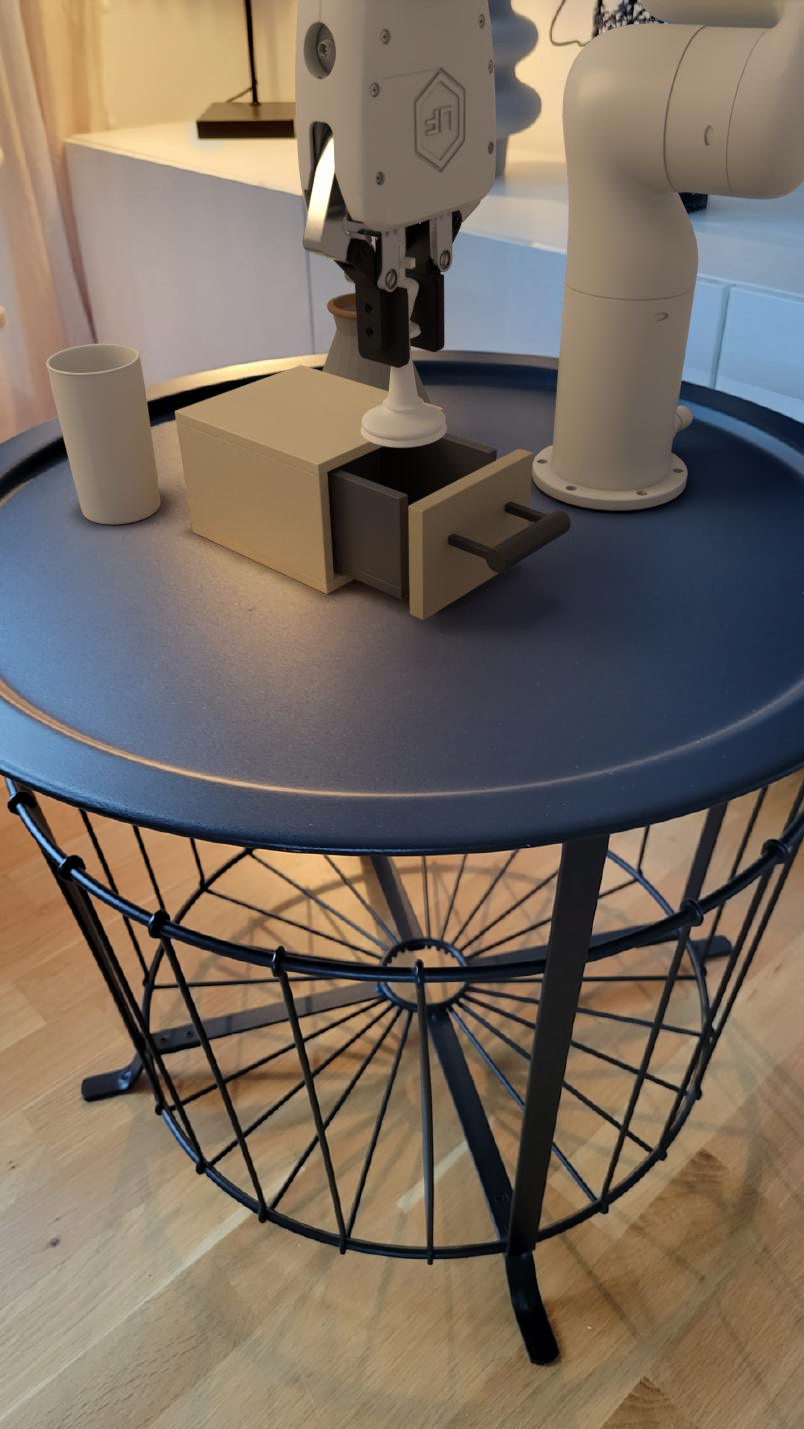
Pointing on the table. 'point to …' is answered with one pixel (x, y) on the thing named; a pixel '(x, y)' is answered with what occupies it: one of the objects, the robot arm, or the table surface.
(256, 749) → the table surface
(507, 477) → the drawer
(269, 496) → the cabinet
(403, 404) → the chess piece
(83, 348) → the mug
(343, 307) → the coffee pot
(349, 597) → the table surface
